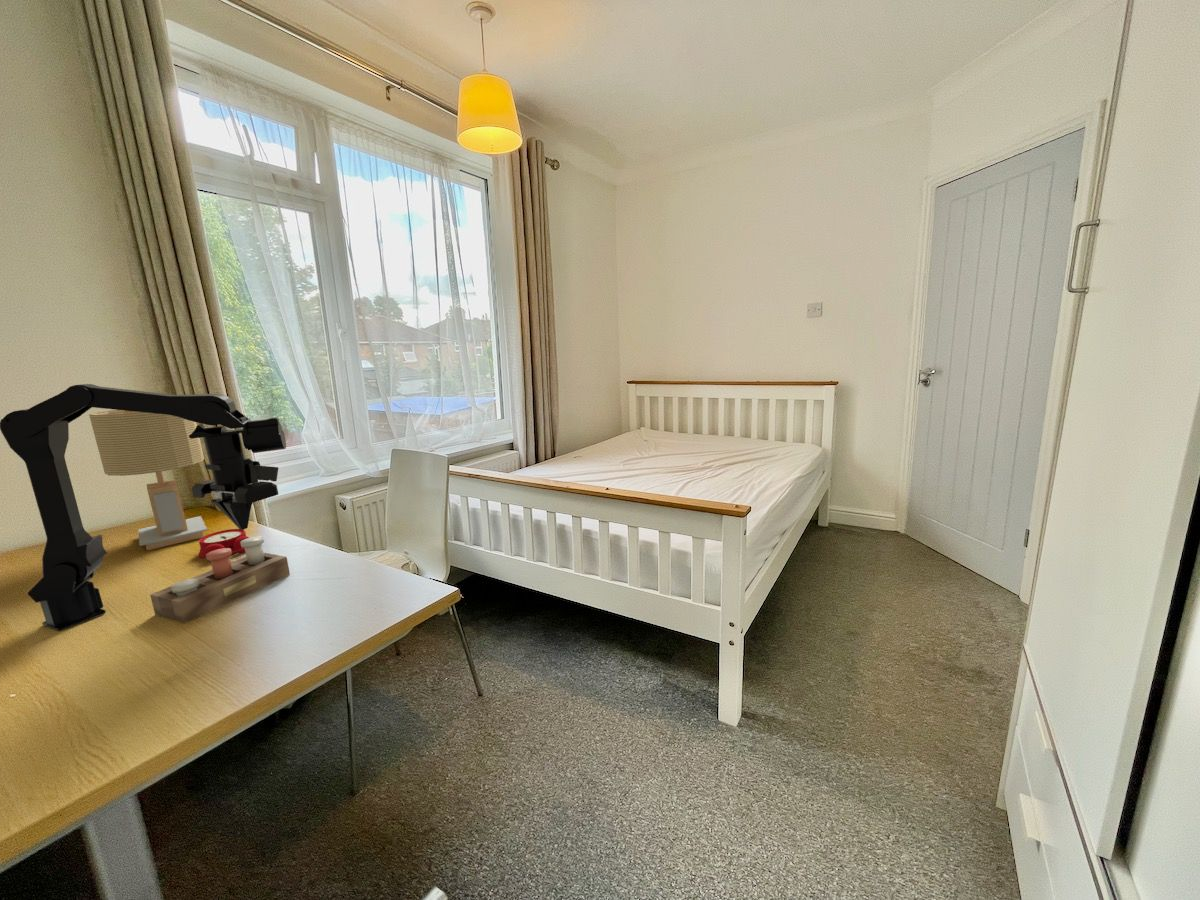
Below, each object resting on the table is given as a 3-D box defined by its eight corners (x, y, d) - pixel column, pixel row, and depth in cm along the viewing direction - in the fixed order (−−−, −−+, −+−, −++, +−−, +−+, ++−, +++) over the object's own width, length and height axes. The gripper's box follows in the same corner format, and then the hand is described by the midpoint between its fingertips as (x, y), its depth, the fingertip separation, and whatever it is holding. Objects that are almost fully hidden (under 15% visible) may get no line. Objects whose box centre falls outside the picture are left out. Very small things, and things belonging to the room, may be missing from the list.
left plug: (185, 615, 89) (179, 590, 88) (172, 611, 90) (166, 587, 89) (209, 604, 92) (203, 580, 91) (196, 601, 94) (190, 577, 93)
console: (185, 623, 86) (179, 602, 86) (155, 614, 90) (149, 594, 89) (290, 574, 105) (287, 556, 104) (262, 568, 108) (258, 551, 107)
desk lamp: (125, 538, 130) (91, 411, 123) (214, 519, 144) (189, 403, 136) (124, 559, 117) (86, 417, 109) (224, 535, 130) (196, 407, 122)
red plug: (219, 581, 94) (213, 557, 93) (206, 578, 95) (201, 555, 94) (240, 572, 97) (235, 549, 96) (228, 569, 99) (223, 547, 98)
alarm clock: (241, 525, 127) (253, 525, 117) (247, 548, 127) (260, 549, 117) (191, 537, 119) (200, 538, 109) (197, 561, 120) (207, 564, 110)
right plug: (253, 567, 100) (248, 544, 99) (240, 564, 101) (236, 542, 100) (271, 559, 103) (267, 537, 102) (259, 557, 105) (255, 535, 104)
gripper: (295, 449, 99) (310, 519, 103) (240, 446, 107) (255, 512, 110) (238, 462, 89) (256, 539, 93) (182, 458, 97) (200, 530, 100)
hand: (243, 528), depth 99 cm, fingers closed
